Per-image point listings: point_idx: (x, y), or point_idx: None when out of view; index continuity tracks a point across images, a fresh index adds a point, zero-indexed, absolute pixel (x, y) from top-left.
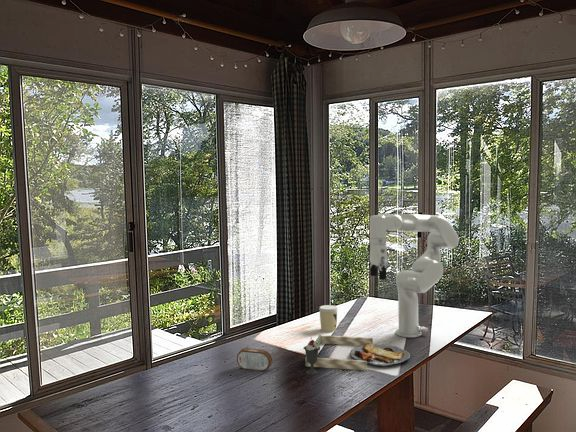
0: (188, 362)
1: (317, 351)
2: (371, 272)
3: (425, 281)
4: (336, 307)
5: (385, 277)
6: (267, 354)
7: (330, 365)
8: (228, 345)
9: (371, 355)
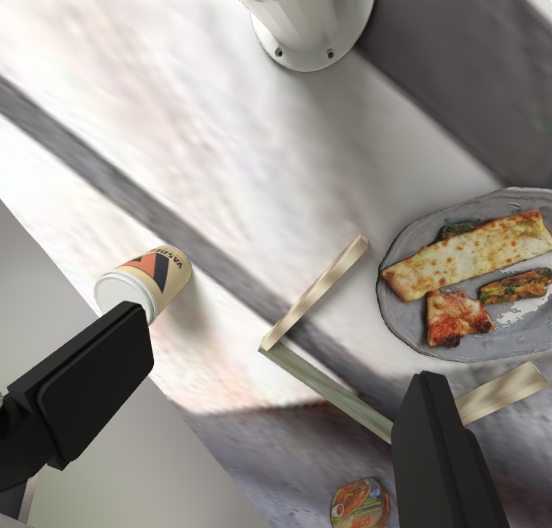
0: (276, 513)
1: None
2: (125, 400)
3: None
4: (130, 284)
5: (446, 403)
6: (384, 520)
7: None
8: (217, 454)
9: (461, 305)
